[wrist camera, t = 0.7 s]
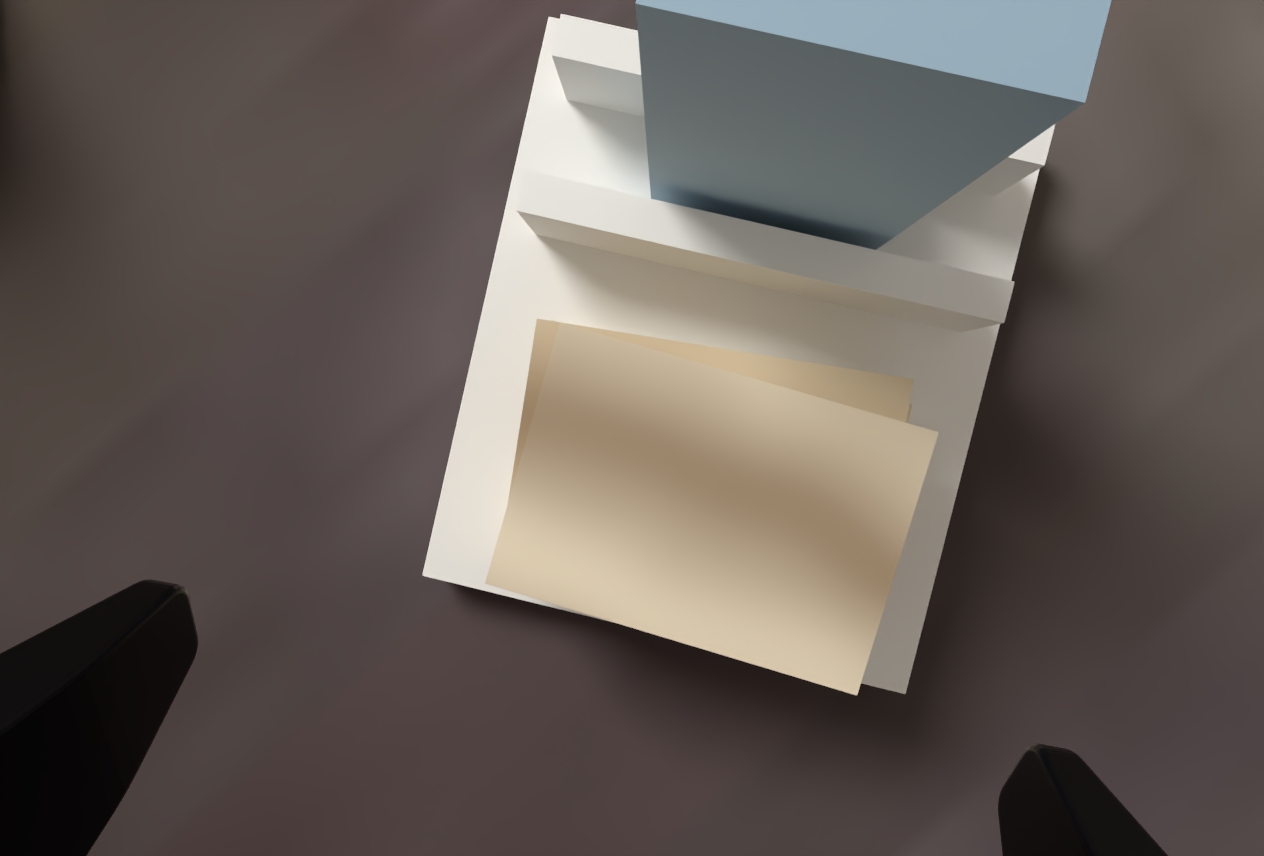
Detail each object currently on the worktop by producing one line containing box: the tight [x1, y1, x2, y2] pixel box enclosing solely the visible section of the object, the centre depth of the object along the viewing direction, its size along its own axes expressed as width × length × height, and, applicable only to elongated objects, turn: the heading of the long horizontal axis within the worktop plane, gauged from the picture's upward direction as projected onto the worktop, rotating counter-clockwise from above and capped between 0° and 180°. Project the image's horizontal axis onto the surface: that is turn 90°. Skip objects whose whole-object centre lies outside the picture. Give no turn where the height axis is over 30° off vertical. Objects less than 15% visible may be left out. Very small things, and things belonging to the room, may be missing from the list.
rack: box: [422, 14, 1055, 694], centre depth 22 cm, size 16×14×4 cm
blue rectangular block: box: [636, 0, 1111, 250], centre depth 17 cm, size 2×6×12 cm, turn 77°
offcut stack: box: [485, 319, 939, 695], centre depth 21 cm, size 7×10×4 cm
